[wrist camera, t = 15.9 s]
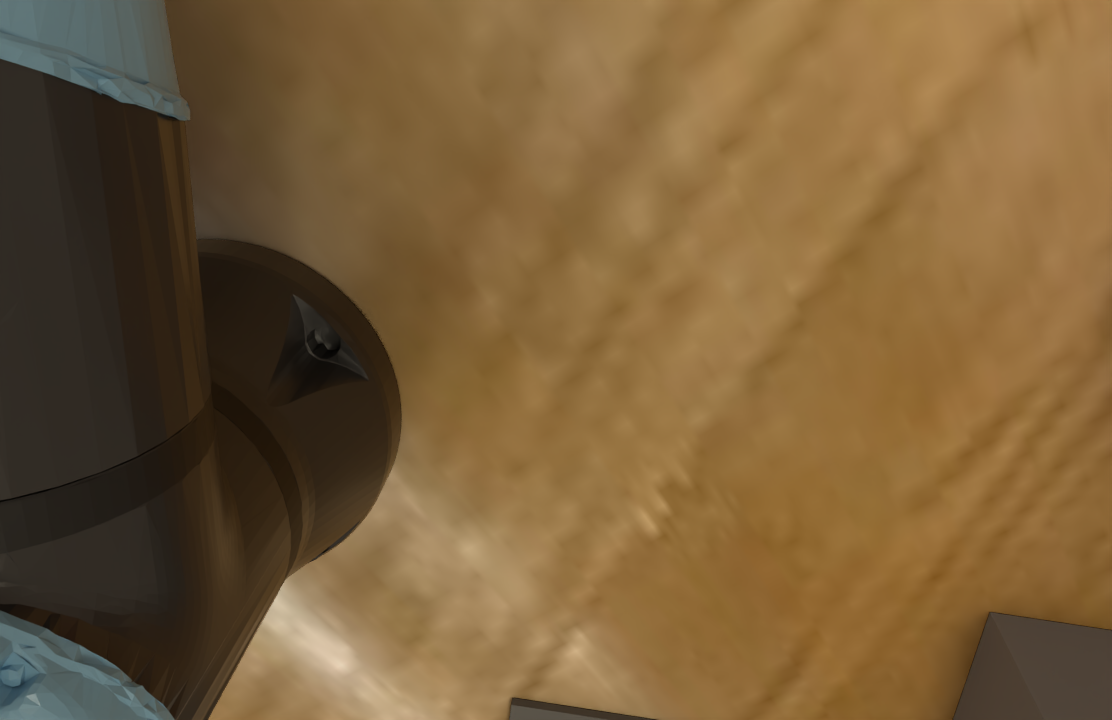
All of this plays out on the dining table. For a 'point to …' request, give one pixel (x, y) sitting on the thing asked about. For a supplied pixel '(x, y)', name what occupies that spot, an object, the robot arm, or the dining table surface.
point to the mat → (559, 712)
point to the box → (1038, 672)
